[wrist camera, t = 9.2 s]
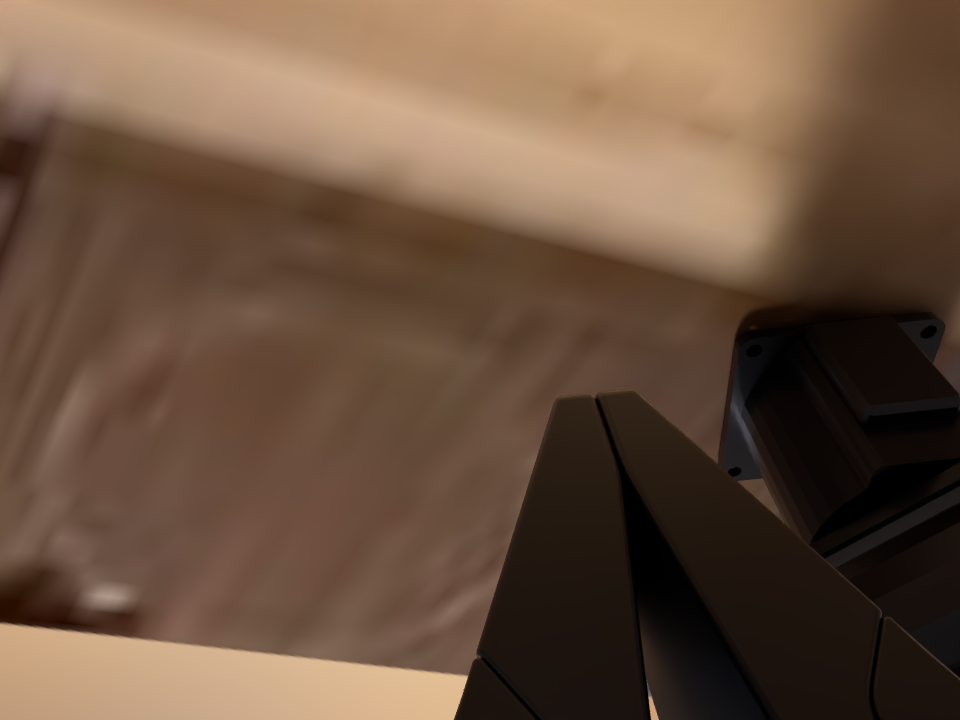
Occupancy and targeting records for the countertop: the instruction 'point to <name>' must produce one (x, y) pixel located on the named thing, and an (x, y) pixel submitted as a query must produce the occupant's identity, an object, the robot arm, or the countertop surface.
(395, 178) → the countertop surface
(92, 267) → the countertop surface
